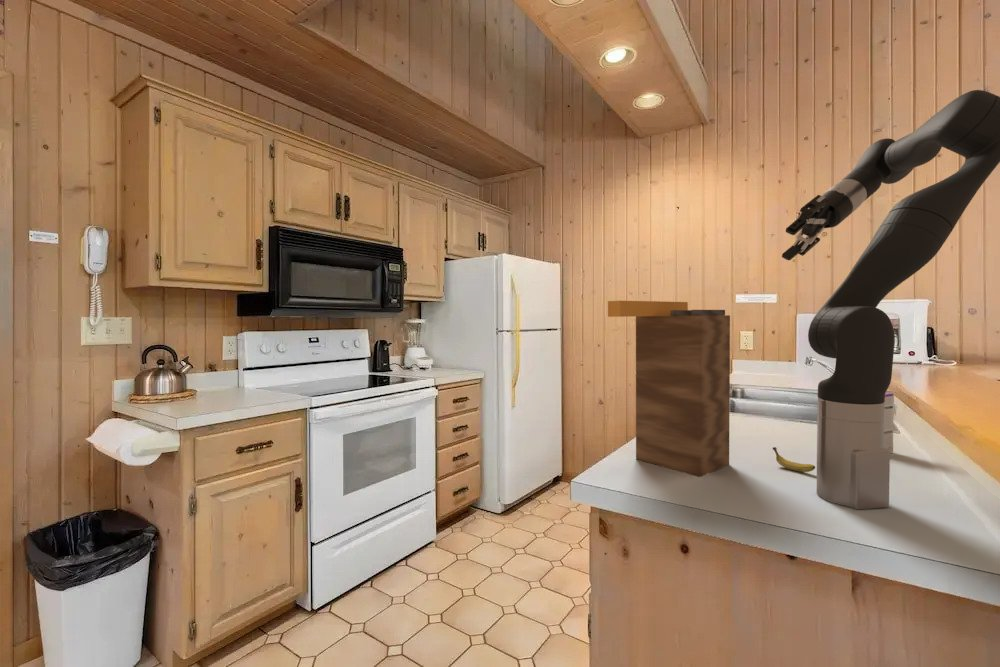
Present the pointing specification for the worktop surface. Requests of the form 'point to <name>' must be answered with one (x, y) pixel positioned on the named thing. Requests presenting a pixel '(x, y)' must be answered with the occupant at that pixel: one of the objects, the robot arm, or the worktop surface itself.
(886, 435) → the syrup box
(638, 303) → the orange-brown bar
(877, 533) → the worktop surface
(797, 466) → the banana
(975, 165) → the robot arm
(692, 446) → the walnut stand
